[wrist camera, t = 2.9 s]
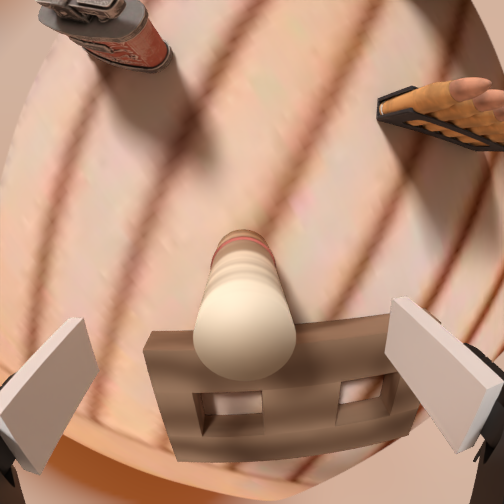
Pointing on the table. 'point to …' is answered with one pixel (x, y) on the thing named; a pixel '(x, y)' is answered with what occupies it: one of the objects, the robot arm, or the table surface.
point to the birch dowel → (244, 312)
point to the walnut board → (283, 396)
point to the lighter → (110, 31)
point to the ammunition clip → (450, 112)
